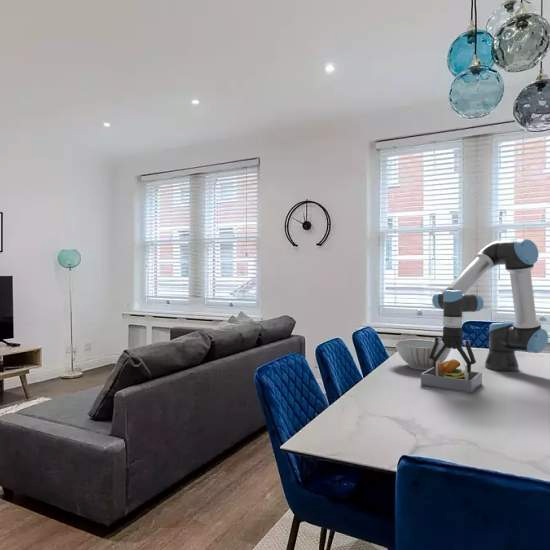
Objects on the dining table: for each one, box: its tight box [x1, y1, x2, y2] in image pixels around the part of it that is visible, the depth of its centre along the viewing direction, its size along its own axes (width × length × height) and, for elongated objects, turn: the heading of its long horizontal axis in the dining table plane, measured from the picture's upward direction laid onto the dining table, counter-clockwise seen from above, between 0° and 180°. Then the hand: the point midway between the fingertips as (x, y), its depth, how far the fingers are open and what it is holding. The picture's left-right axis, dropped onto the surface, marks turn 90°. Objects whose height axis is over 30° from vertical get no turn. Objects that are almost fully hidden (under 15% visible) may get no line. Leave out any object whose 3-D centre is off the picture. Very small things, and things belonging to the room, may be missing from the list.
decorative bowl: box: [395, 339, 452, 371], centre depth 222 cm, size 27×27×12 cm
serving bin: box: [420, 367, 483, 395], centre depth 188 cm, size 19×20×5 cm
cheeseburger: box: [438, 359, 465, 380], centre depth 188 cm, size 10×11×10 cm
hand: (451, 377), depth 188 cm, fingers closed on cheeseburger, 11 cm apart
